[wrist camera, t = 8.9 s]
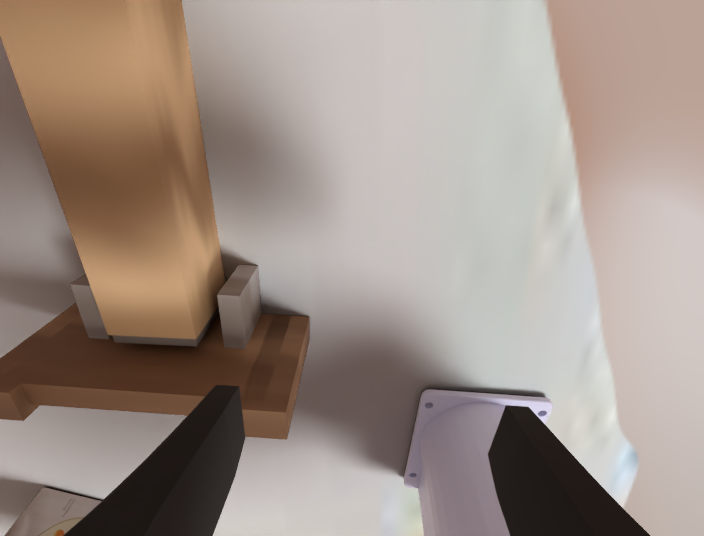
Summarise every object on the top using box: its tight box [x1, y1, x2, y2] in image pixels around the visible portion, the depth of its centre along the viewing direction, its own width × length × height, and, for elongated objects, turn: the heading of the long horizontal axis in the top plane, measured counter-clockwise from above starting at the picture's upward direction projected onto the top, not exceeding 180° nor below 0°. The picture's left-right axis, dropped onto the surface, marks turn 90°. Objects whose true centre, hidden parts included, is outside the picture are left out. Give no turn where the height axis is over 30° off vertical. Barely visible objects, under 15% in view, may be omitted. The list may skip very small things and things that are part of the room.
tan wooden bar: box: [0, 0, 225, 346], centre depth 14 cm, size 14×4×4 cm, turn 178°
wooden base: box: [0, 265, 309, 439], centre depth 16 cm, size 5×13×6 cm, turn 87°
